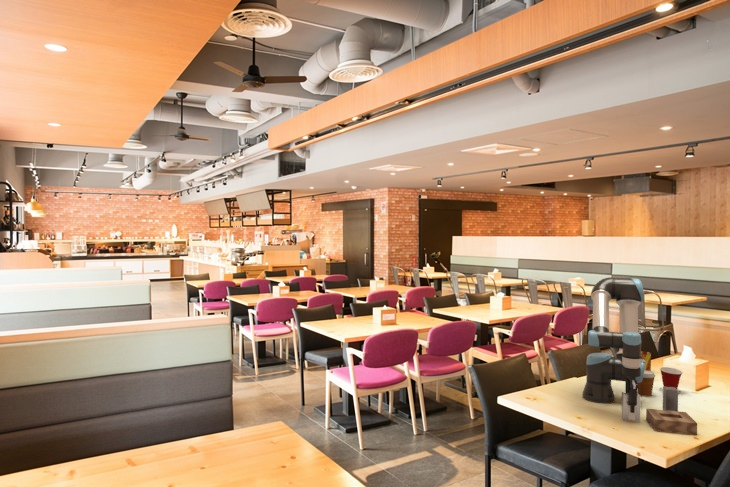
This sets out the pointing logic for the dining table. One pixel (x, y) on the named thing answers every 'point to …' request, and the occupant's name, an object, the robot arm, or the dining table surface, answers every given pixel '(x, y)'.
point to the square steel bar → (670, 399)
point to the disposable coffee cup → (646, 383)
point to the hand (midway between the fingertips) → (630, 417)
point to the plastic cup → (670, 376)
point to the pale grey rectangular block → (625, 408)
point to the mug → (646, 360)
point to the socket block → (671, 421)
